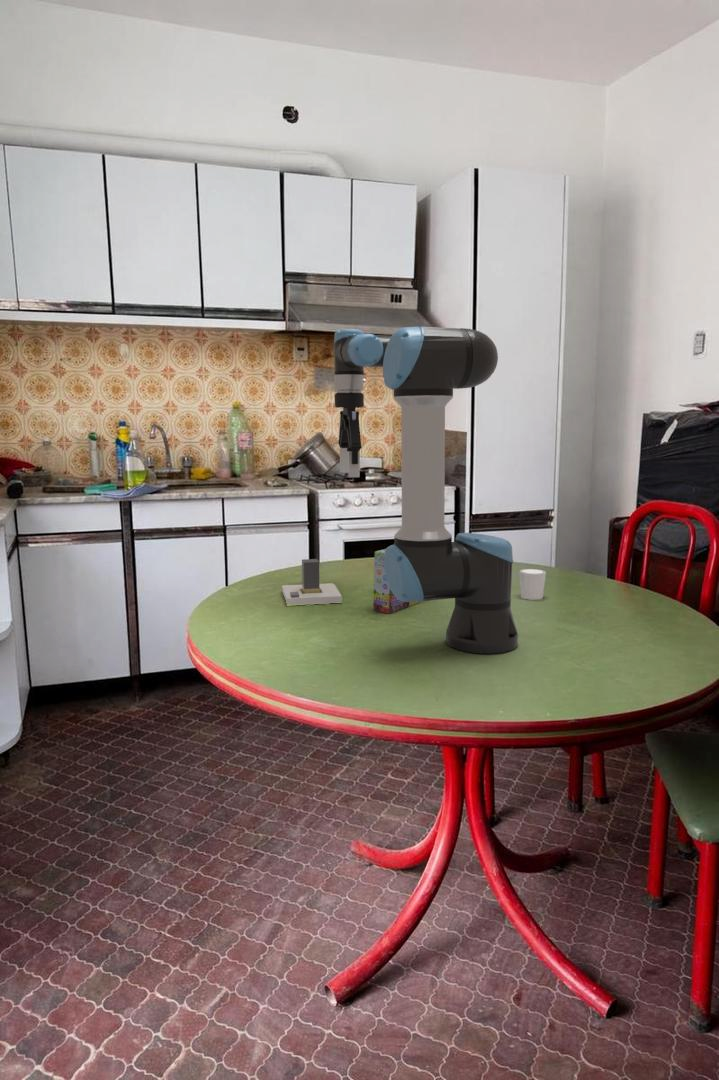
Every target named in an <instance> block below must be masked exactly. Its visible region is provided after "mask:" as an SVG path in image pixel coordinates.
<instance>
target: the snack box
mask: <svg viewBox="0 0 719 1080" xmlns="http://www.w3.org/2000/svg"><path fill="white" fill-rule="evenodd" d="M385 550H386V548H384V549H380V550H376V551H374V562H373V564H374V566H373V567H374V569H373V602H372V603H373V605H372V607H373V608H372V610H373V611H375V612H379V613H384V614H388V615H389V614H392V613H395V612H397V611H400V610H403V609H406V608H409V607H411V606H415V605H417V604H419V603H421V602H403V601H400V600H399V599H397V598H396V597H395V596H394V594H393V593H392V591H391V589H390V586H389V584H388V581H387V578H386V574H385V568H384V555H385Z"/></svg>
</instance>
